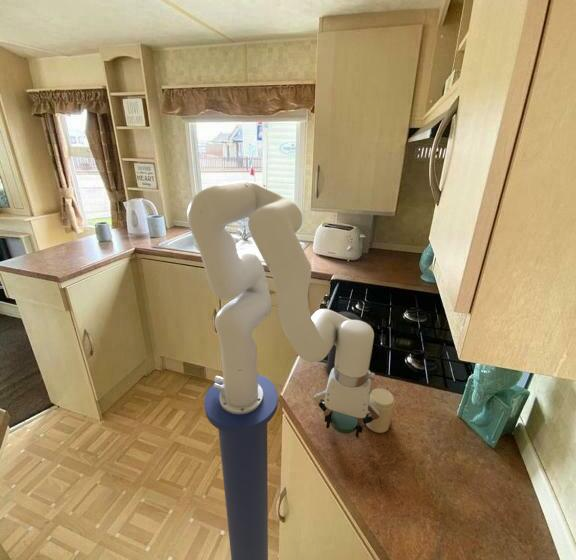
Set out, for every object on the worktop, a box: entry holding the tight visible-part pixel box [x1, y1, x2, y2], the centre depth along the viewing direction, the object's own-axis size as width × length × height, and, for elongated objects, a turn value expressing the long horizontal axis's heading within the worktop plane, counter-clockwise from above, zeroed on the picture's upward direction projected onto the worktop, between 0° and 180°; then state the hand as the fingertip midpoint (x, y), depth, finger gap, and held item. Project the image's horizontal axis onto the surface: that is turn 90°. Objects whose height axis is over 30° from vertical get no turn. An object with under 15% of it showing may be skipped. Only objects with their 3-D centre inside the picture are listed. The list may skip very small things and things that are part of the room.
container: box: [326, 311, 362, 375], centre depth 95 cm, size 9×9×20 cm
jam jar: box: [365, 387, 395, 434], centre depth 80 cm, size 6×6×9 cm
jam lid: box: [330, 411, 358, 435], centre depth 77 cm, size 7×7×2 cm
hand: (343, 427), depth 78 cm, fingers closed on jam lid, 6 cm apart
